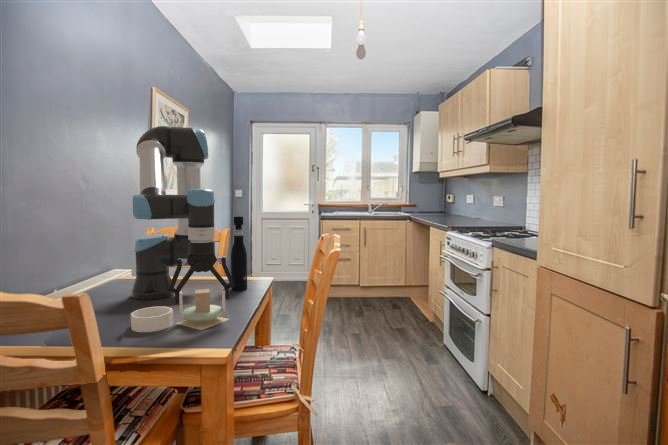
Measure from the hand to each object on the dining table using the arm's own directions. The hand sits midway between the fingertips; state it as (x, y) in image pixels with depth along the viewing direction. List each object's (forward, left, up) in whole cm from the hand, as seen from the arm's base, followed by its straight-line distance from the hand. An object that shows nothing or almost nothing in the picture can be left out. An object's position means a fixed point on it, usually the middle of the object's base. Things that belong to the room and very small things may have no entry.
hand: (202, 311), depth 118 cm
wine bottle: (-21, +38, -4) cm, 43 cm away
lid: (0, 0, -1) cm, 1 cm away
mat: (0, 0, -4) cm, 4 cm away
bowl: (-10, -10, -4) cm, 15 cm away
